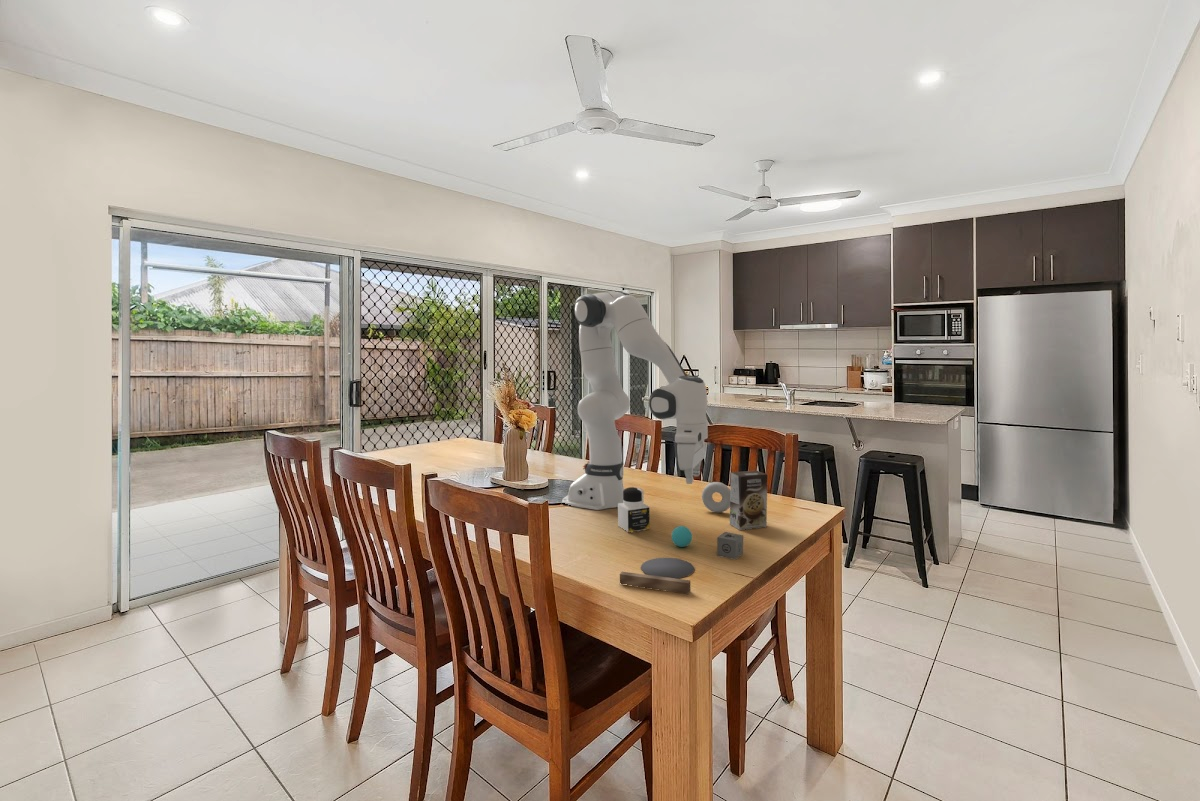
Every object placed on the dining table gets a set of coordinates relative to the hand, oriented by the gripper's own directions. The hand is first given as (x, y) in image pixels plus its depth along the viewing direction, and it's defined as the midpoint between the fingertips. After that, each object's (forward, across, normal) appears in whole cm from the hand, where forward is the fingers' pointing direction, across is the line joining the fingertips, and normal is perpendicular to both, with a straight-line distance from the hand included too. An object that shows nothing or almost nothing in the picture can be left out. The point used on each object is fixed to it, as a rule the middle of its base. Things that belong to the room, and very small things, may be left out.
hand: (693, 479), depth 168 cm
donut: (+15, -20, +3) cm, 26 cm away
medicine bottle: (+15, +3, -18) cm, 23 cm away
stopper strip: (+15, +42, -1) cm, 45 cm away
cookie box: (+16, -9, +14) cm, 23 cm away
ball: (+12, +14, -1) cm, 19 cm away
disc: (+15, +30, -1) cm, 34 cm away
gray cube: (+16, +16, +13) cm, 26 cm away
